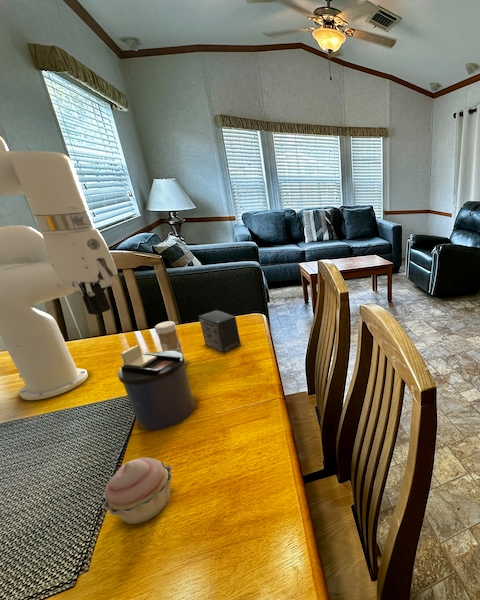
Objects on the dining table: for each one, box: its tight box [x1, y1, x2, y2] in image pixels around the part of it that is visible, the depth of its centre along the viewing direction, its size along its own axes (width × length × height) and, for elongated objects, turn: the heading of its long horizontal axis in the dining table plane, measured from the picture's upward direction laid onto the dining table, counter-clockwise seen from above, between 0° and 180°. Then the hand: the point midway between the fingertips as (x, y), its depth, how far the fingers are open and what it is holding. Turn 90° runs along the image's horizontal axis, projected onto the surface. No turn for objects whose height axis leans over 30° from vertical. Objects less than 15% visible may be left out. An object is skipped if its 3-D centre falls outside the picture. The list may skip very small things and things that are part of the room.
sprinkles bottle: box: [154, 320, 187, 367], centre depth 92 cm, size 5×5×14 cm
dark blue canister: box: [117, 350, 196, 431], centre depth 73 cm, size 12×12×14 cm
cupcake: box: [101, 456, 173, 525], centre depth 53 cm, size 9×9×10 cm
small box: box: [197, 309, 242, 354], centre depth 103 cm, size 11×6×10 cm, turn 58°
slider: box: [120, 344, 157, 367], centre depth 71 cm, size 4×4×3 cm
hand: (100, 311), depth 68 cm, fingers closed
